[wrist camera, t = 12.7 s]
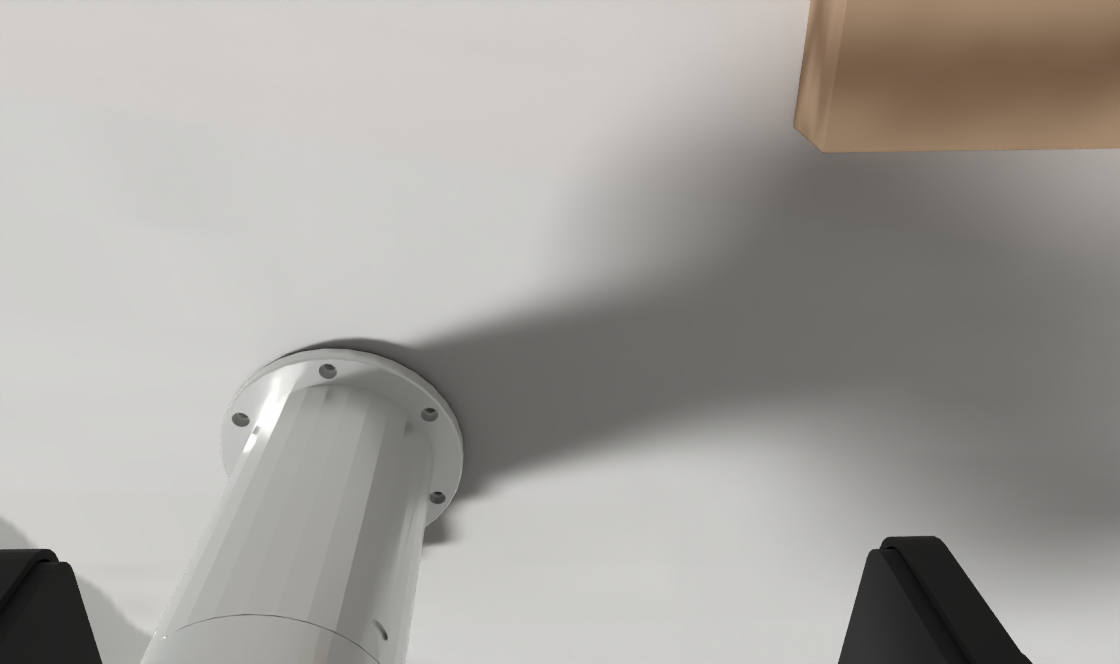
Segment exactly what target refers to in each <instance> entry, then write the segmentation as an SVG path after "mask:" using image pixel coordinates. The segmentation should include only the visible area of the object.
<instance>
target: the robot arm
mask: <svg viewBox="0 0 1120 664" xmlns="http://www.w3.org/2000/svg"><path fill="white" fill-rule="evenodd" d="M329 364H331V365H329ZM332 365H333V366H332ZM220 456H221V460H222V464H223V467H224V471H225V473H226V475H227V477H228V479H229V481H228V483H227V485H226V487H225V489H224V491H223V493H222V495H221V497H220V499H219V501H218V504H217V506H216V508H215V510H214V512H213V514H212V516H211V518H210V520H209V522H208V524H207V526H206V528H205V530H204V532H203V534H202V536H201V538H200V540H199V543H198V545H197V547H196V549H195V551H194V553H193V555H192V557H191V559H190V561H189V563H188V565H187V567H186V569H185V571H184V573H183V575H182V577H181V580H180V582H179V584H178V586H177V588H176V590H175V592H174V594H173V596H172V598H171V600H170V602H169V604H168V606H167V608H166V610H165V612H164V614H163V617H162V619H161V621H160V623H159V625H158V627H157V629H156V631H155V633H154V636H153V638H152V639H151V641H150V644H149V646H148V648H147V650H146V652H145V654H144V656H143V658H142V661H141V663H140V664H405V661H406V654H407V647H408V640H409V633H410V626H411V620H412V613H413V606H414V599H415V592H416V585H417V578H418V571H419V564H420V557H421V550H422V543H423V536H424V529H425V527H426V526H427V525H429V524H430V523H431V522H433V521H434V520H436V519H437V518H438V516H439V515H440V514H441V513H442V512H443V511H444V510H445V509H446V508H447V506H448V505H449V503H450V502H451V500H452V498H453V496H454V495H455V493H456V491H457V489H458V485H459V482H460V479H461V475H462V469H463V459H464V451H463V437H462V434H461V431H460V428H459V425H458V422H457V419H456V417H455V415H454V414H453V412H452V410H451V408H450V407H449V405H448V403H447V402H446V401H445V399H444V398H443V397H442V396H441V395H440V394H439V393H438V391H437V390H436V389H435V388H434V387H433V386H432V385H431V384H429V383H428V382H427V381H426V380H424V379H423V378H422V377H421V376H419V375H418V374H417V373H415V372H414V371H412V370H410V369H408V368H406V367H404V366H403V365H401V364H399V363H397V362H395V361H393V360H390V359H387V358H384V357H381V356H378V355H375V354H373V353H368V352H362V351H356V350H351V349H317V350H310V351H304V352H299V353H296V354H293V355H290V356H287V357H284V358H281V359H278V360H276V361H274V362H273V363H271V364H269V365H267V366H266V367H264V368H262V369H260V370H259V371H258V372H257V373H255V374H254V375H253V376H252V377H251V378H250V379H249V380H248V381H246V382H245V383H244V384H243V386H242V387H241V389H240V390H239V392H238V393H237V394H236V396H235V397H234V399H233V400H232V402H231V404H230V406H229V408H228V410H227V412H226V414H225V416H224V419H223V424H222V428H221V432H220ZM0 664H102V661H101V658H100V655H99V651H98V648H97V645H96V642H95V639H94V636H93V632H92V629H91V626H90V623H89V620H88V616H87V613H86V610H85V607H84V604H83V601H82V598H81V594H80V591H79V588H78V585H77V581H76V578H75V575H74V572H73V569H72V567H71V565H70V564H68V563H67V562H59V560H58V558H57V556H56V554H55V553H54V552H53V551H51V550H50V549H8V550H7V549H4V550H0ZM838 664H1032V662H1031V661H1030V660H1029V659H1028V658H1027V657H1026V656H1025V655H1024V654H1022V653H1021V651H1020V650H1019V649H1018V647H1017V646H1016V644H1015V643H1014V642H1013V640H1012V639H1011V637H1010V636H1009V634H1008V633H1007V632H1006V630H1005V629H1004V627H1003V626H1002V624H1001V623H1000V622H999V620H998V619H997V617H996V616H995V615H994V613H993V612H992V610H991V609H990V607H989V606H988V605H987V603H986V602H985V600H984V599H983V598H982V596H981V595H980V593H979V592H978V590H977V589H976V588H975V586H974V585H973V583H972V582H971V580H970V579H969V578H968V576H967V575H966V573H965V572H964V571H963V569H962V568H961V566H960V565H959V563H958V562H957V561H956V559H955V558H954V556H953V555H952V554H951V552H950V551H949V549H948V548H947V546H946V545H945V544H944V543H943V542H942V541H941V540H940V539H939V538H937V537H935V536H908V537H887V538H886V539H885V540H884V541H883V542H882V544H881V547H880V549H873V550H871V551H870V552H869V554H868V557H867V560H866V563H865V567H864V571H863V574H862V578H861V582H860V585H859V589H858V593H857V596H856V600H855V604H854V607H853V611H852V614H851V618H850V622H849V625H848V629H847V633H846V636H845V640H844V644H843V647H842V651H841V655H840V658H839V662H838Z"/></svg>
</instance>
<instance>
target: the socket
mask: <svg viewBox="0 0 1120 664" xmlns="http://www.w3.org/2000/svg"><path fill="white" fill-rule="evenodd" d="M793 127H794V128H795V129H797V130H798V131H799V132H800V133H801V134H802V135H803V136H805V137H806V138H807V139H808V140H809V141H810V142H811V143H813V144H814V145H815V146H816V147H817V148H818V149H819V150H820V151H822V152H823V153H832V152H900V151H969V150H1037V149H1106V148H1120V0H811V4H810V11H809V19H808V26H807V33H806V40H805V47H804V54H803V62H802V69H801V76H800V83H799V90H798V97H797V105H796V112H795V119H794V126H793Z"/></svg>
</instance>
